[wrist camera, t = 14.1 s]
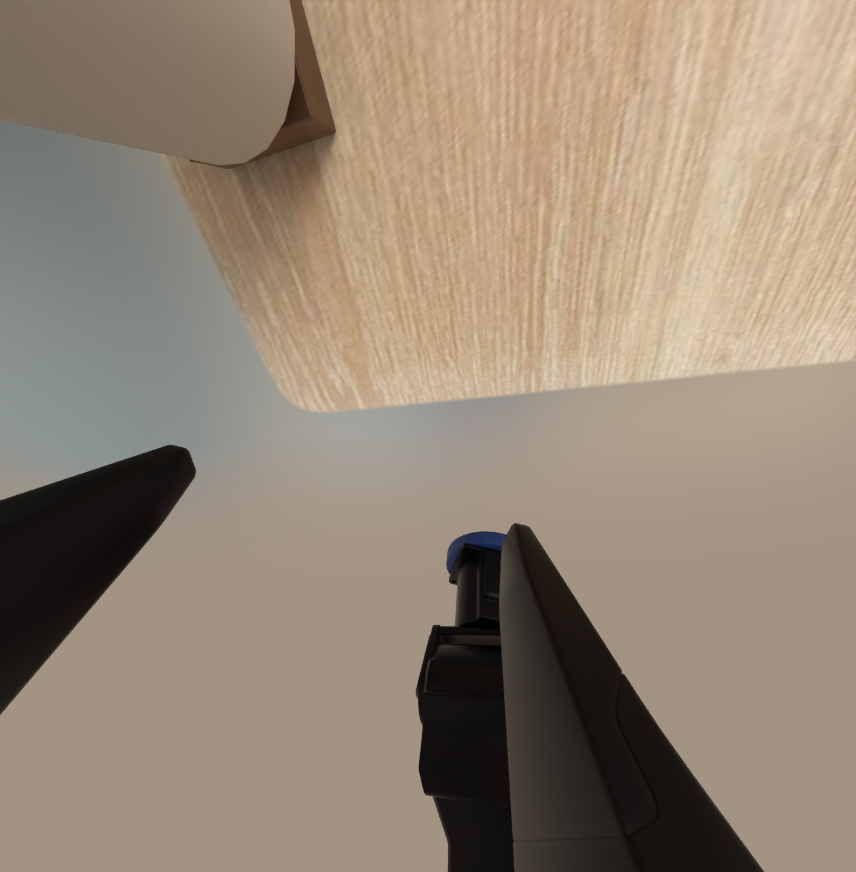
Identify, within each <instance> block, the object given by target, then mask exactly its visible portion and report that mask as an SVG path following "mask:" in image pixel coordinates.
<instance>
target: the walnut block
mask: <svg viewBox="0 0 856 872" xmlns="http://www.w3.org/2000/svg"><path fill="white" fill-rule="evenodd" d="M289 1H290V6H291V12H292V17H293V22H294V28H295V72H294V85H293V89H292V93H291V97H290V101H289V105H288V109H287V113H286V118H285V121H284V123H283V125H282V126H281V128H280V129H279V131H278V133H277V134H276V136H275V137H274V139H273V141H272V142H271V144H270V145H269V147H268V148H267V149H266V150H264V151H263V152H261V153H260V154H258V155H257V156H255V157H254V158H252V159H251V160H249V161H247V162H250V161H253V160H256V159H259V158H262V157H265V156H268V155H271V154H274V153H277V152H280V151H283V150H286V149H289V148H292V147H295V146H298V145H301V144H304V143H307V142H310V141H313V140H316V139H319V138H321V137H324V136H327V135H330V134H333V133H335V132H336V130H335V126H334V122H333V118H332V114H331V111H330V107H329V103H328V99H327V96H326V92H325V88H324V84H323V80H322V77H321V73H320V69H319V65H318V61H317V58H316V54H315V50H314V46H313V43H312V39H311V35H310V31H309V27H308V24H307V20H306V16H305V12H304V9H303V5H302V1H301V0H289ZM189 160H190V161H192V162H196V163H201V164H206V165H211V166H216V167H221V168H226V169H230V168H233V167H236V166H239V165H242V164H245V163H241V164H229V165H215V164H210V163H205V162H200V161H195V160H191V159H189ZM247 162H246V163H247Z"/></svg>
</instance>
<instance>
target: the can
mask: <svg viewBox="0 0 856 872" xmlns="http://www.w3.org/2000/svg"><path fill="white" fill-rule="evenodd" d="M294 72H295V28H294V22H293V17H292V12H291V6H290V1H289V0H0V120H4V121H9V122H13V123H18V124H23V125H28V126H32V127H38V128H42V129H47V130H51V131H56V132H62V133H66V134H71V135H76V136H80V137H85V138H91V139H95V140H100V141H104V142H109V143H114V144H119V145H123V146H128V147H133V148H138V149H143V150H148V151H152V152H157V153H162V154H167V155H171V156H176V157H181V158H186V159H191V160H195V161H200V162H205V163H210V164H215V165H229V164H241V163H246V162H247V161H249V160H251V159H252V158H254V157H255V156H257V155H258V154H260V153H261V152H263V151H264V150H266V149H267V148H268V147H269V145H270V144H271V142H272V141H273V139H274V137H275V136H276V134H277V133H278V131H279V129H280V128H281V126H282V125H283V123H284V121H285V118H286V113H287V109H288V105H289V101H290V97H291V93H292V89H293V85H294Z"/></svg>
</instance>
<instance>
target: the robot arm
mask: <svg viewBox="0 0 856 872" xmlns="http://www.w3.org/2000/svg"><path fill="white" fill-rule="evenodd" d="M195 474H196V469H195V466H194V463H193V461H192V458H191V455H190V453H189V451H188V450H187V449H186V448H183V447H179V446H174V445H167V446H164V447H161V448H158V449H155V450H152V451H149V452H146V453H143V454H140V455H137V456H134V457H131V458H128V459H124V460H122V461H118V462H115V463H112V464H109V465H107V466H103V467H100V468H97V469H94V470H91V471H88V472H85V473H82V474H79V475H76V476H73V477H70V478H67V479H64V480H61V481H58V482H55V483H52V484H49V485H46V486H43V487H40V488H36V489H34V490H31V491H27V492H24V493H22V494H18V495H15V496H12V497H9V498H6V499H3V500H0V715H1V713H2V712H3V711H4V710H5V709H6V708H7V706H8V705H9V704H10V703H11V702H12V700H13V699H14V698H15V697H16V696H17V695H18V693H19V692H20V691H21V690H22V689H23V688H24V686H25V685H26V684H27V683H28V682H29V680H30V679H31V678H32V677H33V676H34V674H35V673H36V672H37V671H38V670H39V669H40V667H41V666H42V665H43V664H44V663H45V661H46V660H47V659H48V658H49V657H50V656H51V655H52V653H53V652H54V651H55V650H56V649H57V648H58V646H59V645H60V644H61V643H62V642H63V640H64V639H65V638H66V637H67V636H68V635H69V633H70V632H71V631H72V630H73V629H74V628H75V626H76V625H77V624H78V623H79V622H80V620H81V619H82V618H83V617H84V616H85V615H86V613H87V612H88V611H89V610H90V608H92V606H93V605H94V604H95V603H96V602H97V600H98V599H99V598H100V597H101V596H102V595H103V593H104V592H105V591H106V590H107V589H108V588H109V586H110V585H111V584H112V583H113V582H114V581H115V579H116V578H117V577H118V576H119V575H120V573H121V572H122V571H123V570H124V569H125V567H126V566H127V565H128V564H129V563H130V562H131V560H132V559H133V558H134V557H135V556H136V555H137V553H138V552H139V551H140V550H141V549H142V548H143V546H144V545H145V544H146V543H147V542H148V540H149V539H150V538H151V537H152V536H153V535H154V533H155V532H156V531H157V530H158V528H159V527H160V526H161V525H162V523H163V522H164V520H165V519H166V518H167V516H168V515H169V513H170V512H171V511H172V509H173V507H174V506H175V505H176V503H177V502H178V500H179V499H180V498H181V496H182V495H183V493H184V492H185V491H186V489H187V488H188V486H189V485H190V483H191V482H192V480H193V479H194V477H195ZM449 582H450V583H451V584H455V585H457V601H456V617H455V626H440V625H433V627H432V631H431V635H430V636H429V640H428V644H427V648H426V652H425V656H424V660H423V664H422V668H421V672H420V676H419V680H418V684H417V688H416V697H417V699H418V706H419V707H418V708H419V716H420V721H421V723H422V725H423V731H422V741H421V751H420V759H419V773H420V777H421V782H422V786H423V790H424V793H425V794H426V795H429V796H433V798H434V802H435V805H436V808H437V811H438V814H439V817H440V820H441V823H442V826H443V829H444V832H445V835H446V838H447V842H448V872H764V871H763V869H762V868H761V867H760V866H759V864H758V863H757V862H756V860H755V859H754V857H753V856H752V855H751V853H750V852H749V850H748V849H747V848H746V846H745V845H744V844H743V842H742V841H741V840H740V838H739V837H738V835H737V834H736V833H735V831H734V830H733V829H732V827H731V826H730V824H729V823H728V822H727V820H726V819H725V818H724V816H723V815H722V814H721V812H720V811H719V810H718V808H717V807H716V805H715V804H714V803H713V801H712V800H711V799H710V797H709V796H708V794H707V793H706V792H705V790H704V789H703V788H702V786H701V785H700V784H699V782H698V781H697V779H696V778H695V777H694V776H693V774H692V773H691V771H690V770H689V768H688V767H687V766H686V764H685V763H684V761H683V760H682V759H681V757H680V756H679V755H678V753H677V752H676V750H675V749H674V747H673V746H672V745H671V743H670V742H669V740H668V739H667V738H666V736H665V735H664V733H663V732H662V731H661V729H660V728H659V726H658V725H657V723H656V722H655V720H654V719H653V717H652V716H651V714H650V713H649V711H648V710H647V708H646V707H645V705H644V704H643V702H642V701H641V699H640V698H639V696H638V695H637V693H636V691H635V690H634V688H633V687H632V685H631V684H630V682H629V681H628V679H627V677H626V676H625V675H624V674H622V670H621V669H620V667H619V665H618V664H617V662H616V661H615V659H614V658H613V656H612V654H611V653H610V651H609V650H608V648H607V647H606V645H605V643H604V642H603V640H602V639H601V637H600V636H599V634H598V633H597V631H596V629H595V628H594V627H593V625H592V623H591V622H590V620H589V619H588V617H587V615H586V614H585V612H584V611H583V609H582V608H581V606H580V605H579V603H578V602H577V600H576V599H575V597H574V595H573V594H572V592H571V591H570V589H569V587H568V586H567V584H566V583H565V581H564V580H563V578H562V577H561V575H560V573H559V572H558V570H557V569H556V567H555V566H554V564H553V563H552V561H551V559H550V558H549V557H548V555H547V553H546V552H545V550H544V549H543V547H542V546H541V544H540V542H539V541H538V539H537V538H536V536H535V535H534V533H533V531H532V530H531V528H530V527H528V526H526V525H521V524H517V523H515V524H513V525H512V526H511V528H510V530H509V532H508V533H507V535H506V537H505V539H504V541H503V544H502V551H500V550H496V549H491V548H487V547H483V546H478V545H474V544H469V543H464V544H463V545H462V547H461V549H460V552H459V554H458V556H457V559H456V561H455V564H454V566H453V569H452V571H451V574H450V576H449Z"/></svg>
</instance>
